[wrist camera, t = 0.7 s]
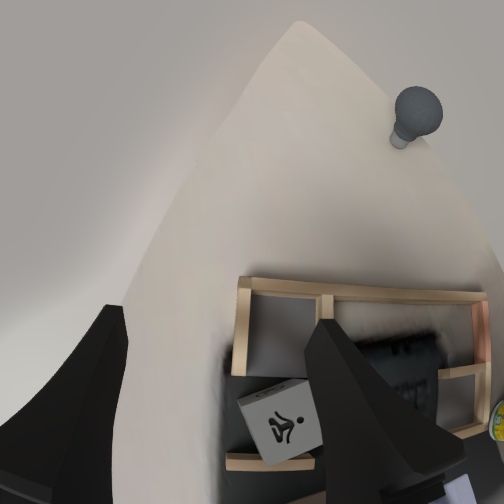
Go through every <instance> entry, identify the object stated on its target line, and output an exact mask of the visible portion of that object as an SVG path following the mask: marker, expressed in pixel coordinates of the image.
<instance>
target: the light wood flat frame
mask: <svg viewBox="0 0 504 504" xmlns="http://www.w3.org/2000/svg"><path fill="white" fill-rule="evenodd" d="M333 301H346V302H367V303H391V304H423V305H471V308H472V320H473V336H474V364H473V365H467V366H461V367H455V368H448V369H440V370H438V396H437V413H436V424H437V425H438V426H440V427H441V428H443V429H445V430H446V431H448V432H450V433H452V434H454V435H456V436H457V437H459V438H461V439H464V438H467V437H470V436H472V435H475V434H478V433H481V432H483V431H486V430H488V422H489V411H490V395H491V340H490V324H489V312H488V302H487V294H486V293H485V292H461V291H440V290H421V289H404V288H388V287H372V286H357V285H343V284H329V283H316V282H304V281H291V280H279V279H268V278H256V277H245V276H239V281H238V289H237V302H236V316H235V329H234V343H233V357H232V372H231V375H237V376H262V377H292V378H308V377H307V372H306V365H305V357H304V350H305V348H306V346H307V344H308V342H309V339H310V337H311V335H312V333H313V331H314V329H315V327H316V325H317V323H318V321H319V319H333ZM314 464H315V458H314V457H312V456H311V455H310V454H309V453H302V454H300V455H297V456H295V457H293V458H290V459H288V460H285V461H283V462H280V463H278V464H275V465H273V466H270V467H267V466H266V465H265V463H264V461H263V459H262V457H261V455H260V454H243V453H226V470H235V471H293V470H310V469H314Z"/></svg>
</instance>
